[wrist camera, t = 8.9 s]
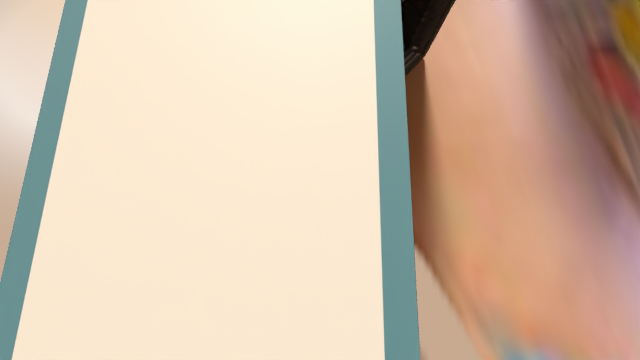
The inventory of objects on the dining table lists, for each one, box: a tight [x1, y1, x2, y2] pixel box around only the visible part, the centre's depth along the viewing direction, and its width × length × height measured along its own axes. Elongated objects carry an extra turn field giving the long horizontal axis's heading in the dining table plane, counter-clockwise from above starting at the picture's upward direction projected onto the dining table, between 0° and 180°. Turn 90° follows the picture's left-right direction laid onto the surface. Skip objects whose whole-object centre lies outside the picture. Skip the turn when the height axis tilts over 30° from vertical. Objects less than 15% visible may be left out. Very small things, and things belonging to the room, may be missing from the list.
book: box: [0, 0, 420, 360], centre depth 11 cm, size 11×4×16 cm, turn 179°
